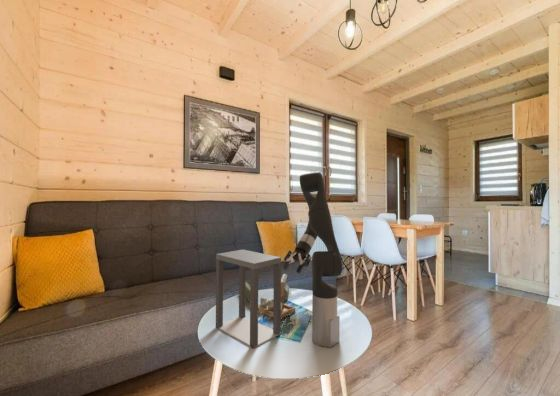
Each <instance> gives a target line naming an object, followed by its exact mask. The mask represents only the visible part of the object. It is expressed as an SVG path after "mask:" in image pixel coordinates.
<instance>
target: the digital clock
mask: <svg viewBox="0 0 560 396" xmlns="http://www.w3.org/2000/svg"><path fill="white" fill-rule="evenodd" d="M287 277H288V274H286V273H283V274H282V275H281V281H284V301H288V299H289V295H290V286H289V285H288V284H287V282H286V281H287Z"/></svg>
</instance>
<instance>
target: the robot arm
mask: <svg viewBox="0 0 560 396" xmlns="http://www.w3.org/2000/svg"><path fill="white" fill-rule="evenodd" d="M299 184H300V185H299V186H300V189H301V192H302V195H303V198H304V199H305V202H306V204H307V206H308V212H307V214H308V222H307V225H306V226H307V227H306V229H305V231H304V233H303V234H302V236H301V237H300V239H299V240H298V243H297V244H296V246H295V247H294V251H291V250H288V251H287V253H286V255H285V256H284V258H283V260H284V265H283V267H282V269H283V270H285V271H287V269H288V267H289V266H290V264H291V263H294V262H298V263H299V264H298V267H297V268H296V273H297V274H300V273H301V272H302V270H303V268H308V266H309V265H310V262H311V276H312V277H311V278H312V280H311V283H312V284H311V286H312V302H311V303H312V305H311V306H312V307H311V308H312V309H311V310H312V311H311V312H312V313H311V315H312V316H311V318H312V319H311V320H312V322H311V331H312V332H311V333H312V334H311V340H312V342H313V343H314V344H315V345H318V346H319V347H326V348H332V347H334V346H336V344H338V343H339V342H340V323H341V322H340V320H341V319H340V315H338V293H339V292H338V288H337V286H336V285H335V284H332V283H329V282H326V280H325V281H324V280H323V277H327V278H328V277H340V276H341V275H342V273H343V260H342V256H341V253H340V249H339V246H338V244H337V239H336V237H335V231H334V227H333V222H332V217H331V212H330V208H329V204H328V201H327V200H328V199H327V195H326V194H327V193H326V188H325V181H324V177H323V174H322V173H321V171H311V172H306V173H303V174H301V175H300V176H299ZM314 192H317V193H316V196H314V195H313V194H312V193H314ZM317 238H319V240H321V241H322V242H323V244H324V246H325V247H326V249H327V251H325V250H323V251H321V250H320V251H319V250H317V251H314V252H313V253H312V255H311V254H310V253H311V250H312V249H313V247H314V244H315V243H316V240H317Z"/></svg>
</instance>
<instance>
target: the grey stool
mask: <svg viewBox="0 0 560 396" xmlns="http://www.w3.org/2000/svg"><path fill="white" fill-rule="evenodd" d="M224 262H226V263H229V264H233V265H237V266H238V316H237V317H234V318H231V319H230V320H228V321H225V322H224V321H223V320H224V316H223V315H224ZM215 265H216V266H215V328H216V329H217V330H219V331H221V332H224V333H225V334H226V335H228V336H230V337H232V338H234V339H235V340H237V341H238V342H240V343H242V344H244V345H246V346H248V347H250V348H251V349H256V348H258V347H259V346H262V345H263V344H266V343H267V342H269V341H271V340H273V339H274V338H277V337H278V336H280V335H281V326H282V324H281V320H282V319H281V278H282V257H281V256H276V255H270V254H266V253H261V252H257V251H253V250H247V249H238V250H237V249H236V250H231V251H226V252H219V253H216V254H215ZM270 266H273V299H272V300H273V320H272V323H273V324H272V328H270V327H268V326H267V325H264V324H262V323H260V322H259V312H258V305H259V269H261V268H265V267H270ZM246 268H248V269H250V271H249V272H250V275H249V276H250V278H249V279H250V280H249V283H250V284H249V285H250V302H249V306H250V307H249V317H247V316H246V297H245V286H246V282H247V281H246V279H247V278H246V275H247V273H246V272H247V271H246ZM279 334H280V335H279ZM276 336H277V337H276Z"/></svg>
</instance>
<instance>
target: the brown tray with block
mask: <svg viewBox="0 0 560 396" xmlns="http://www.w3.org/2000/svg"><path fill="white" fill-rule="evenodd" d="M259 300H260V301H259V302H260V304H258V313H259V314H260V313H261V314H263V315H265V314H266V315H265V316H267V315H269V316H268V317H270V316H271V317H270V318H272V317H273V299H272V298H271V299H268V297H266V296H261V297H260V299H259ZM293 312H295V313H296V307H294V306H292V305H289V304H286V303H285V300H284V281H281V318H283V317H285V316H287V315H289V314H291V313H293ZM293 314H294V313H293ZM291 315H292V314H291ZM289 316H290V315H289ZM287 317H288V316H287ZM285 318H286V317H285ZM283 319H284V318H283Z"/></svg>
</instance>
